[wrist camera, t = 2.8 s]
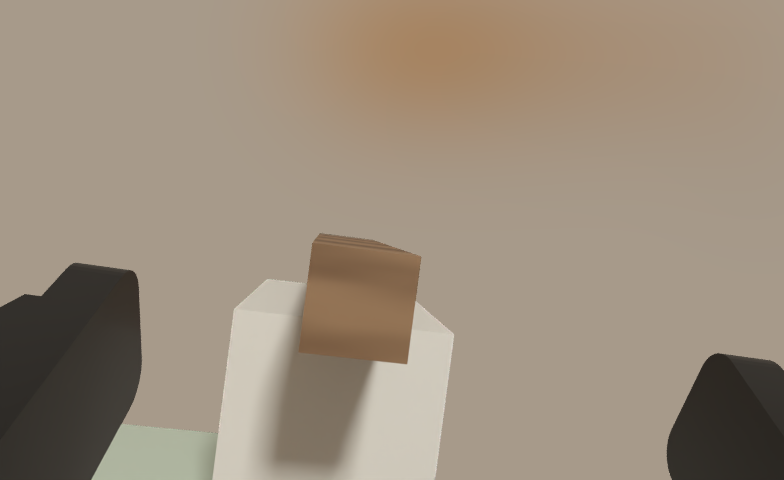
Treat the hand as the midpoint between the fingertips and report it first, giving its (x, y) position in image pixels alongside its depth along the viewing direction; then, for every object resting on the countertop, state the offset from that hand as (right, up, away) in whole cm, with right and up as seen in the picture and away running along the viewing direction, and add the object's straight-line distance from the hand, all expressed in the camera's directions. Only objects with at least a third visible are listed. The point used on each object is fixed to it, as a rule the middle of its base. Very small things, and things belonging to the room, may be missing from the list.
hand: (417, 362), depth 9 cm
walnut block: (-3, -2, +24) cm, 24 cm away
